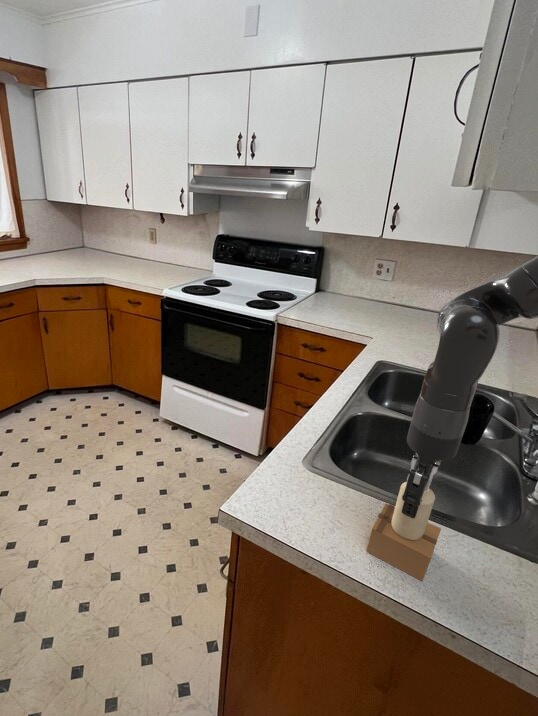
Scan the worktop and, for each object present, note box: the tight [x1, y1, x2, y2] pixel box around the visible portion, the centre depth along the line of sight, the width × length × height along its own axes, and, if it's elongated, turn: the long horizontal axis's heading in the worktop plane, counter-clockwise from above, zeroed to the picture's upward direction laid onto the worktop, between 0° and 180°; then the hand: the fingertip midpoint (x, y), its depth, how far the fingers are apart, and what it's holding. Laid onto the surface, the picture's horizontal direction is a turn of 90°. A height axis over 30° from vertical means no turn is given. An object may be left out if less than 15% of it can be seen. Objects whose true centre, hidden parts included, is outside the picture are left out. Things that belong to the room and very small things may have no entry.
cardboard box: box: [366, 502, 442, 582], centre depth 79 cm, size 10×8×6 cm
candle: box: [391, 481, 436, 540], centre depth 75 cm, size 6×6×10 cm
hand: (415, 500), depth 74 cm, fingers open, 8 cm apart
